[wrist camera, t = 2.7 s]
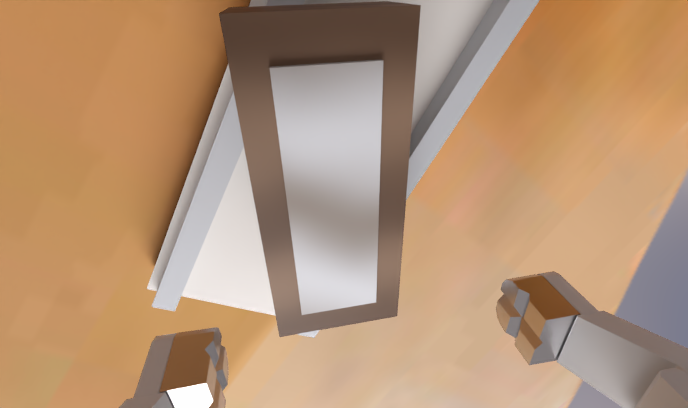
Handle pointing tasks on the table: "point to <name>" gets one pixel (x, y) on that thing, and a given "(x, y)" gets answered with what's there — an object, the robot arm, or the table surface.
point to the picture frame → (327, 151)
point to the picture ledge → (232, 170)
